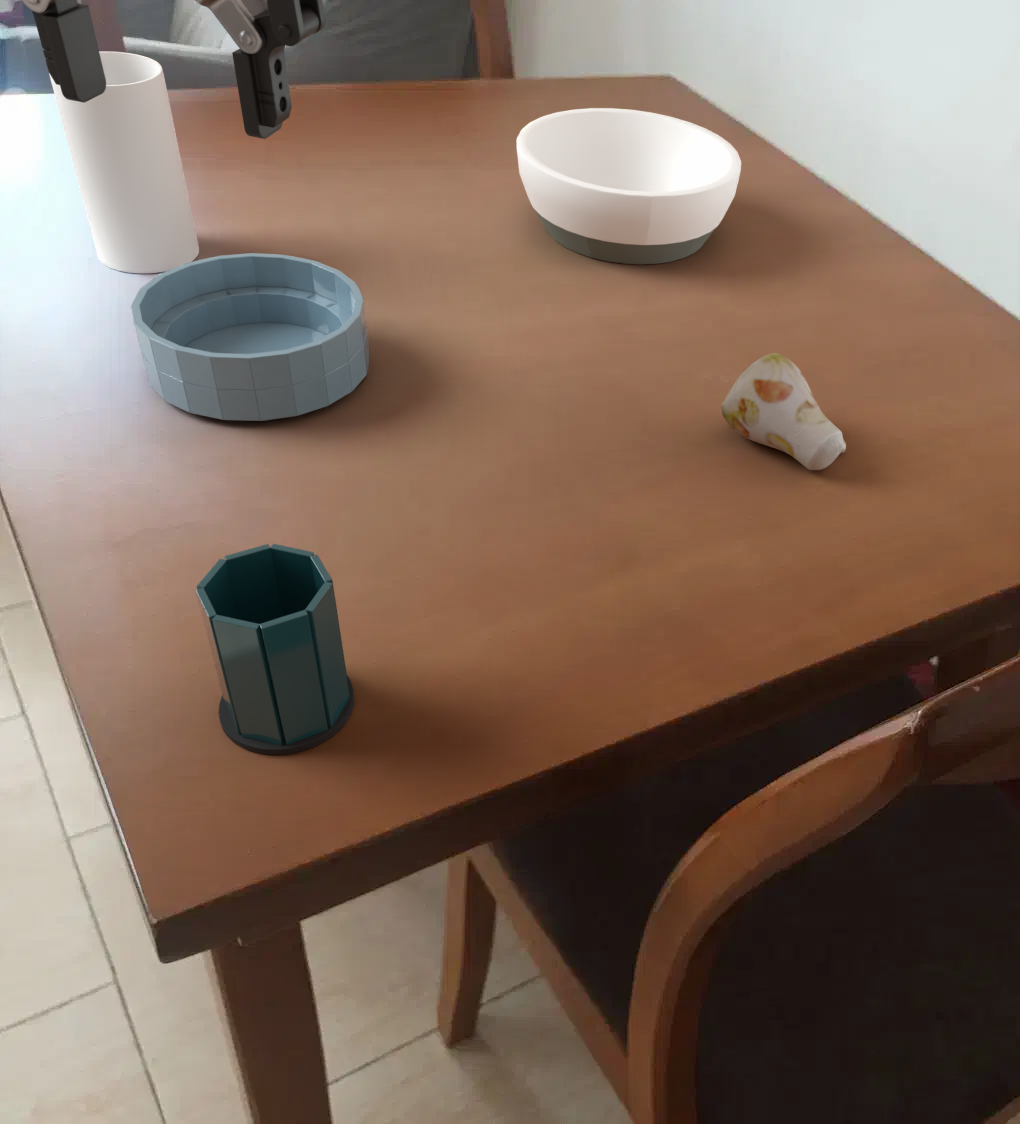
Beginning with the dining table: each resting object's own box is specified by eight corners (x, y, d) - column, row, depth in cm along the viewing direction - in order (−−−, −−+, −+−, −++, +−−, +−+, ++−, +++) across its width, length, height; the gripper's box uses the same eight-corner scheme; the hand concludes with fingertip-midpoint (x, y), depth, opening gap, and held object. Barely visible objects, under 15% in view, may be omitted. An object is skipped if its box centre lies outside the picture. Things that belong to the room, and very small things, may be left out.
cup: (208, 266, 100) (172, 82, 90) (106, 279, 96) (56, 89, 86) (188, 227, 105) (151, 49, 95) (90, 238, 101) (40, 53, 91)
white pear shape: (815, 500, 86) (768, 387, 81) (737, 484, 93) (690, 380, 88) (877, 448, 89) (836, 336, 84) (798, 436, 96) (755, 333, 92)
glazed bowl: (104, 402, 83) (83, 330, 79) (218, 304, 96) (205, 238, 92) (313, 445, 83) (302, 375, 79) (401, 341, 95) (396, 276, 91)
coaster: (194, 739, 62) (192, 733, 61) (259, 649, 67) (258, 643, 67) (320, 767, 61) (319, 761, 61) (375, 674, 67) (374, 669, 66)
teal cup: (207, 729, 62) (174, 611, 56) (263, 652, 66) (238, 535, 60) (315, 753, 61) (293, 637, 55) (364, 674, 66) (348, 559, 60)
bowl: (705, 184, 128) (713, 111, 123) (756, 277, 112) (767, 197, 107) (506, 180, 122) (505, 102, 117) (529, 278, 106) (529, 193, 101)
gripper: (-182, -372, 38) (-29, 111, 48) (219, -300, 37) (286, 174, 48) (-29, -370, 44) (79, 62, 54) (322, -308, 43) (362, 117, 54)
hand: (176, 114), depth 51 cm, fingers open, 8 cm apart
